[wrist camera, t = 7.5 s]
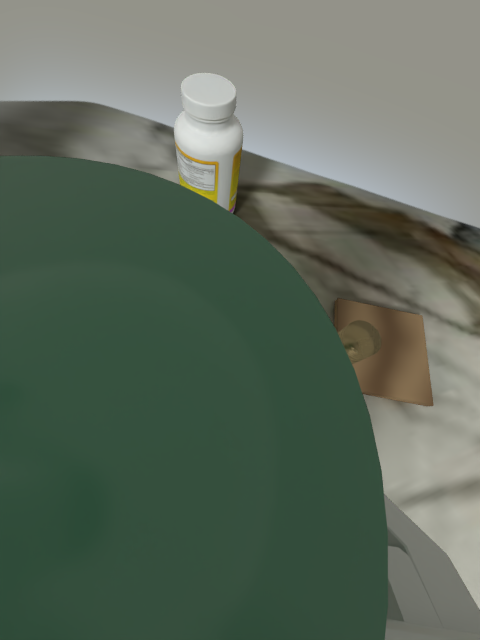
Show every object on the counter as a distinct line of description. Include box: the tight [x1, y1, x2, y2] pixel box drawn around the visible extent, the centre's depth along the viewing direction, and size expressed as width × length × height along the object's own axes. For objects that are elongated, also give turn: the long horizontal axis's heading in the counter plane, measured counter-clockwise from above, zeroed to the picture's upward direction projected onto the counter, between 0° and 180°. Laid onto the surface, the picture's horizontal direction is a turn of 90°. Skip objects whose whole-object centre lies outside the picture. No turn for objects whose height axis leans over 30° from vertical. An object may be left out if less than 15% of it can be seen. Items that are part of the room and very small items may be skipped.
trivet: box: [334, 298, 433, 406], centre depth 28 cm, size 10×10×1 cm
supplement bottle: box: [174, 73, 243, 213], centre depth 28 cm, size 7×7×13 cm
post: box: [338, 320, 381, 364], centre depth 22 cm, size 4×4×11 cm
